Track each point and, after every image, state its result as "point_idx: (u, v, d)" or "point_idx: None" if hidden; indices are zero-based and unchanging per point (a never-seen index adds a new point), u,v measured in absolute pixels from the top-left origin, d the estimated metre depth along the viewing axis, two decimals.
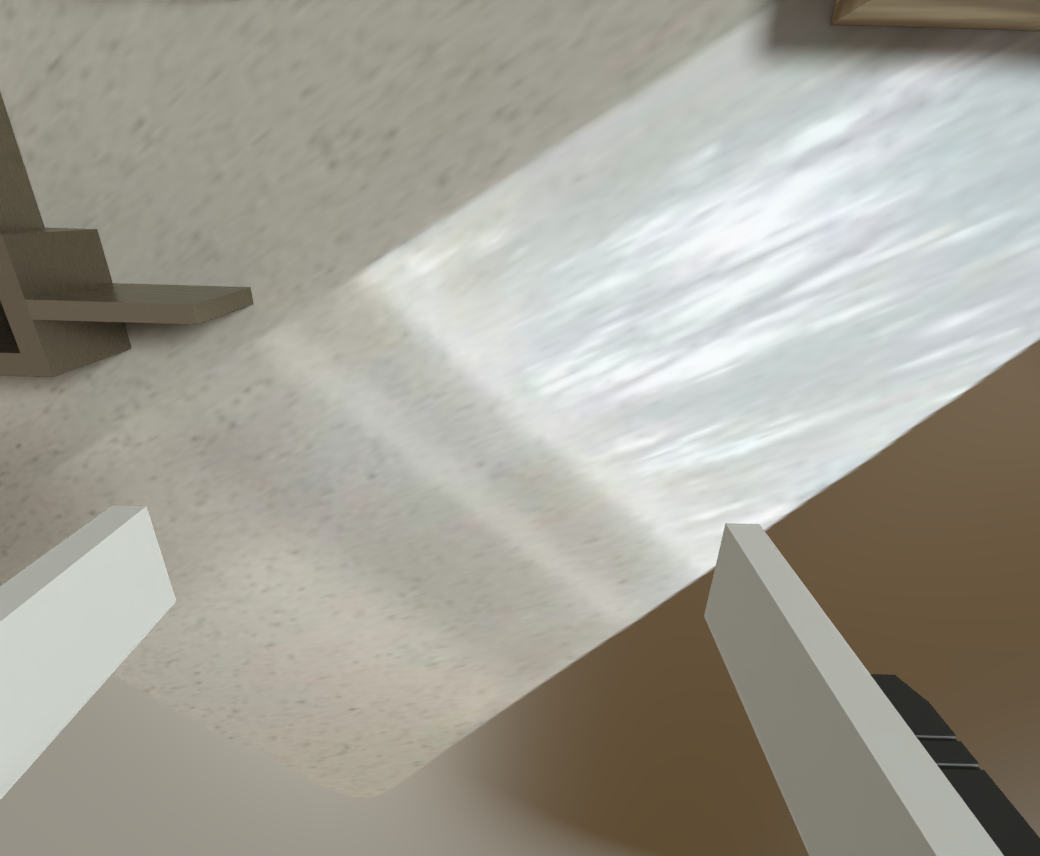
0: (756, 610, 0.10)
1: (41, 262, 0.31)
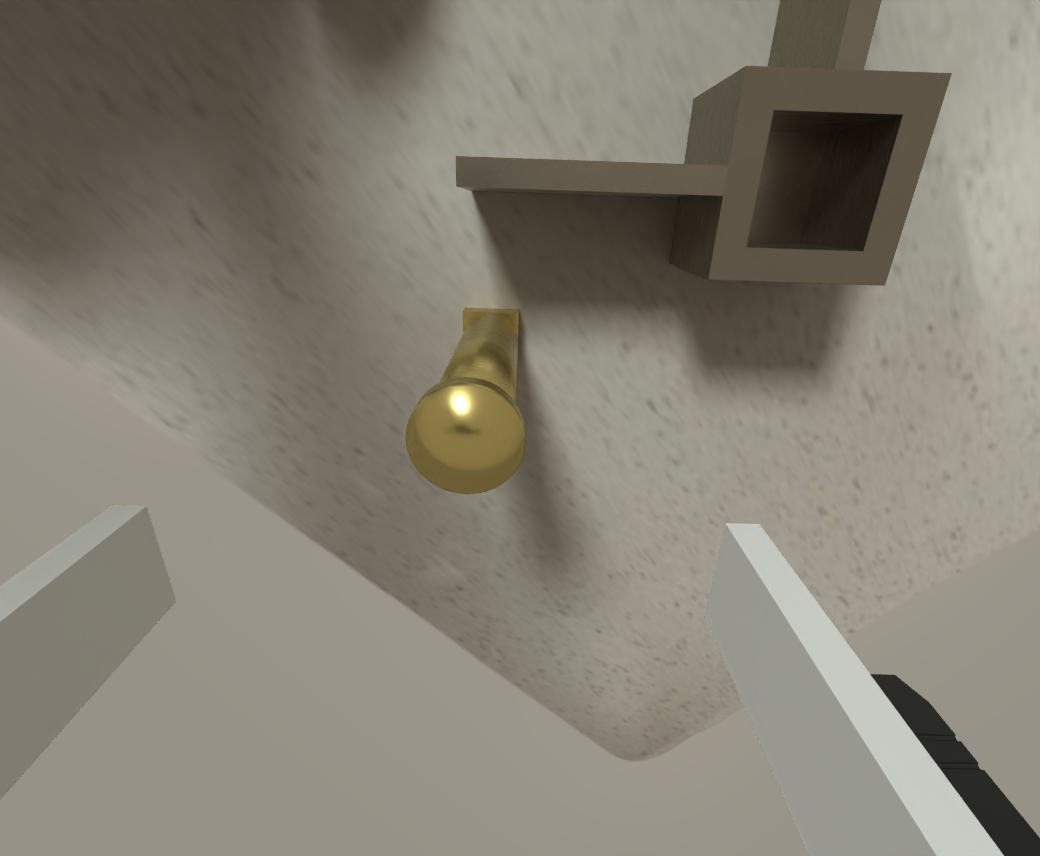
0: (756, 610, 0.10)
1: None
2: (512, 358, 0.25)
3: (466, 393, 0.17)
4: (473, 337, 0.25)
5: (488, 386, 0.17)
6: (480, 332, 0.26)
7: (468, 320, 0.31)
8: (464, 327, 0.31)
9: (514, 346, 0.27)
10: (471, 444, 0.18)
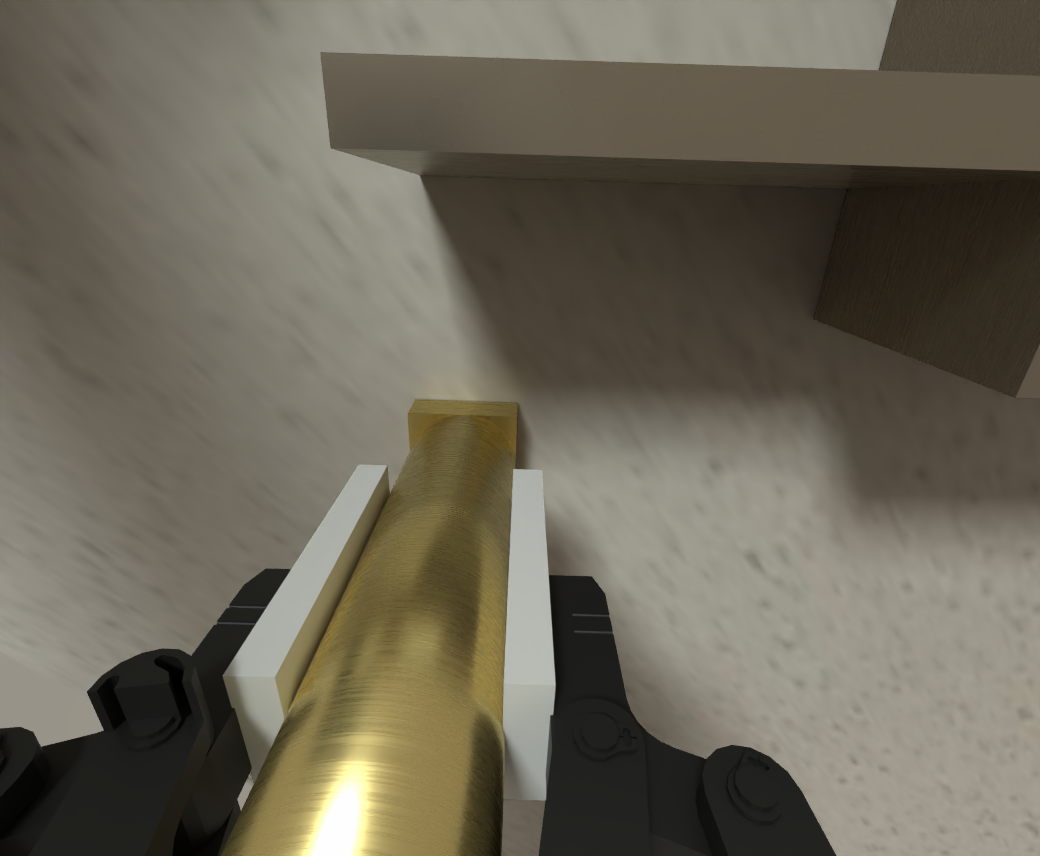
0: None
1: None
2: (499, 593, 0.10)
3: None
4: (403, 531, 0.10)
5: None
6: (425, 505, 0.11)
7: (419, 429, 0.16)
8: (411, 441, 0.16)
9: (506, 518, 0.12)
10: None
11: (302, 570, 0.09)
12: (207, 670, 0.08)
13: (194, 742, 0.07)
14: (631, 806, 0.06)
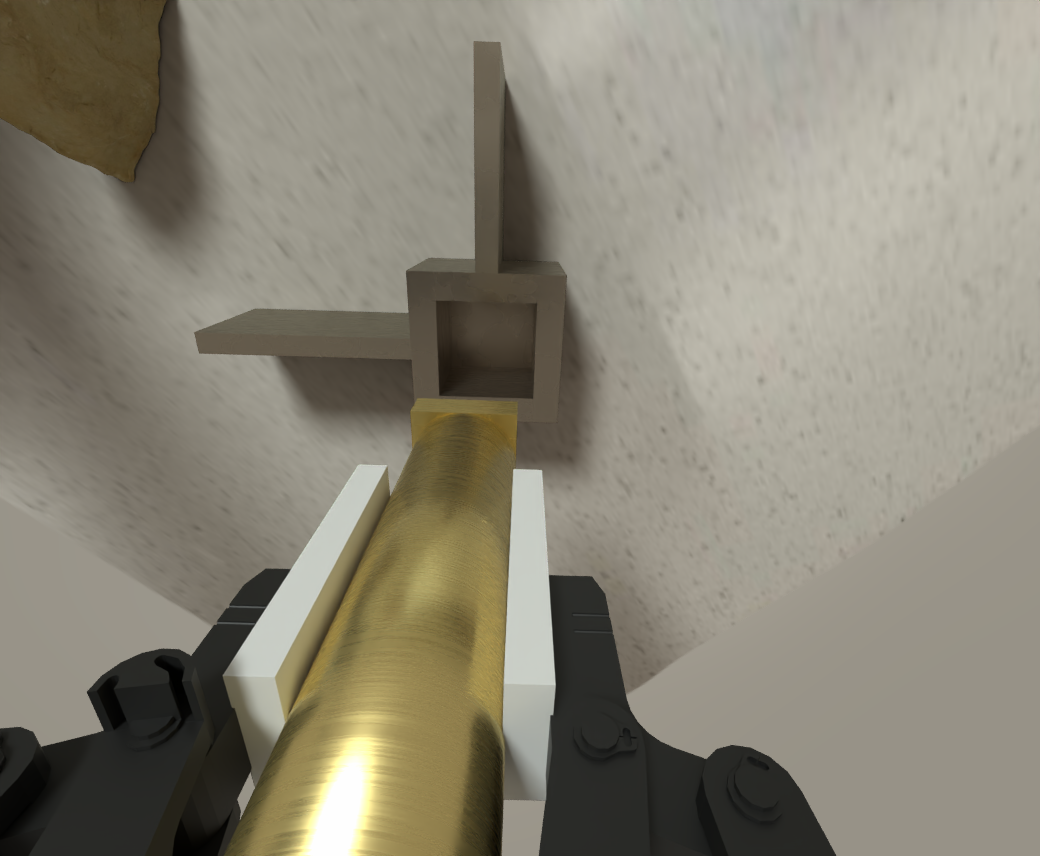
0: None
1: (443, 267, 0.28)
2: (500, 584, 0.10)
3: None
4: (407, 525, 0.10)
5: None
6: (428, 500, 0.11)
7: (421, 426, 0.16)
8: (414, 439, 0.16)
9: (507, 513, 0.13)
10: None
11: (302, 570, 0.09)
12: (208, 670, 0.08)
13: (194, 742, 0.07)
14: (631, 806, 0.06)
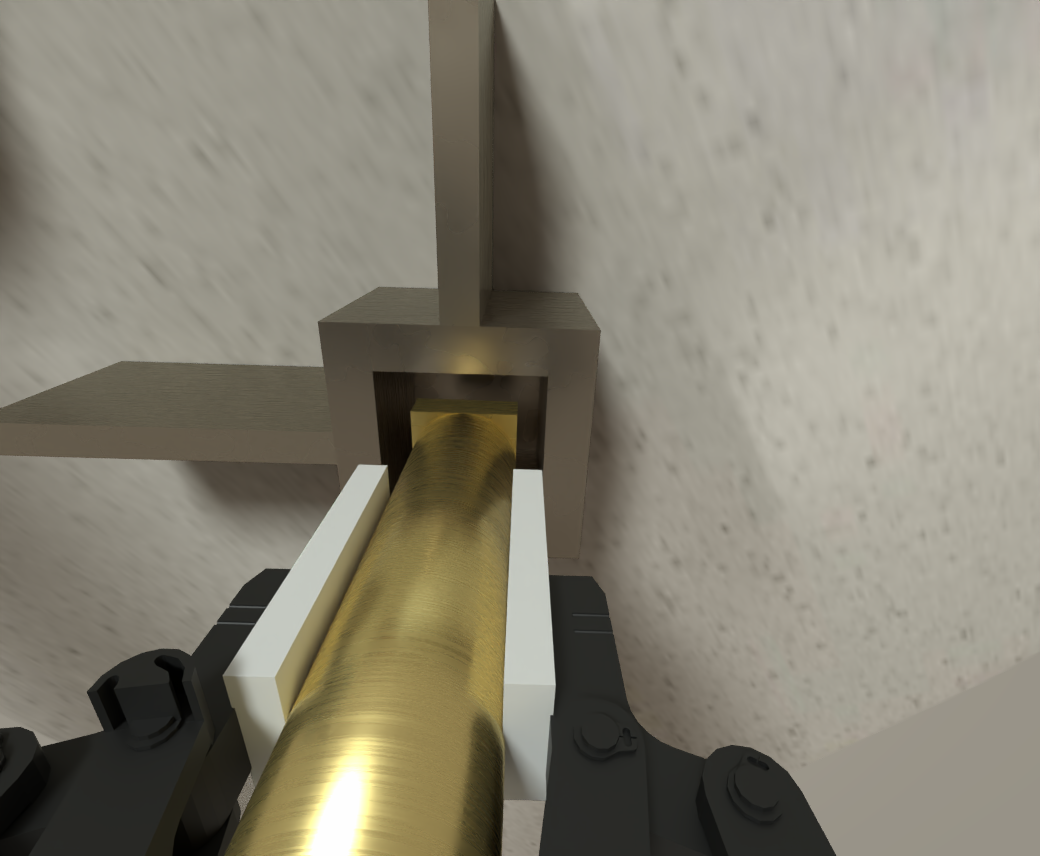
0: None
1: (390, 311, 0.17)
2: (500, 584, 0.10)
3: None
4: (407, 525, 0.10)
5: None
6: (428, 500, 0.11)
7: (421, 427, 0.16)
8: (414, 439, 0.16)
9: (507, 513, 0.13)
10: None
11: (302, 570, 0.09)
12: (208, 670, 0.08)
13: (194, 742, 0.07)
14: (631, 806, 0.06)
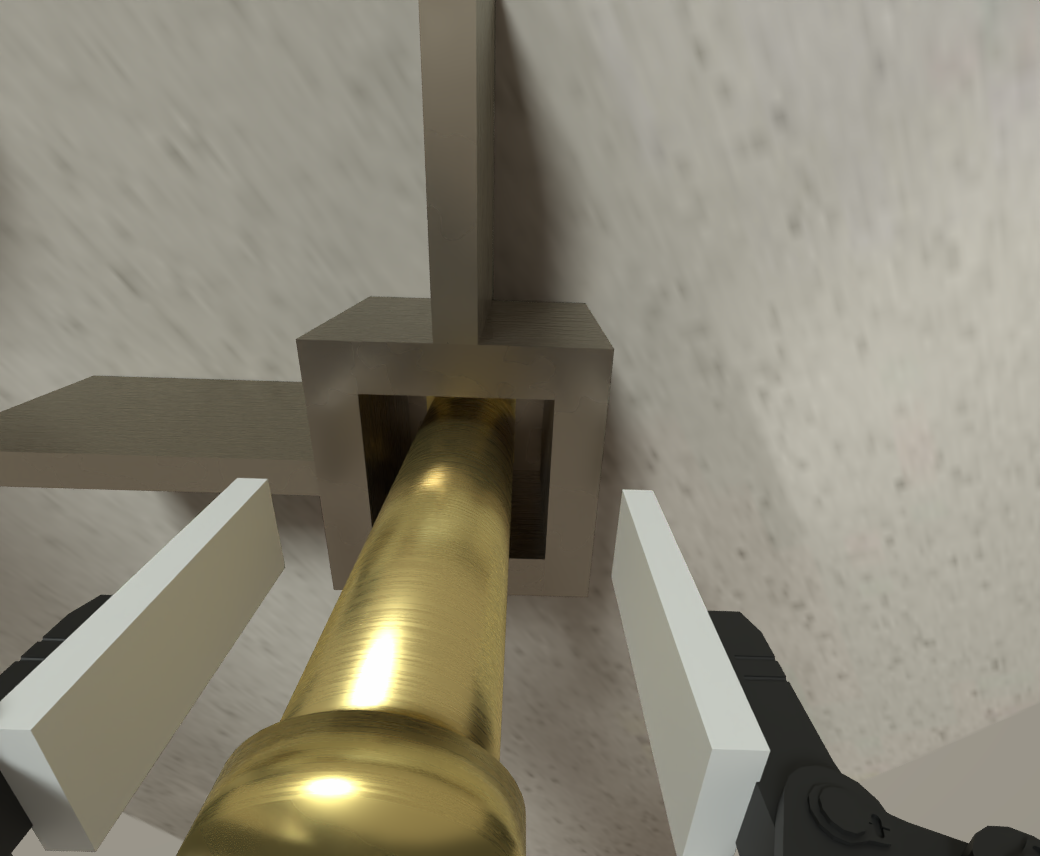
0: (635, 562, 0.11)
1: (379, 325, 0.15)
2: (502, 499, 0.13)
3: (338, 814, 0.05)
4: (429, 455, 0.13)
5: (415, 762, 0.06)
6: (444, 440, 0.14)
7: None
8: (428, 403, 0.19)
9: (507, 455, 0.15)
10: None
11: (120, 600, 0.09)
12: None
13: None
14: None
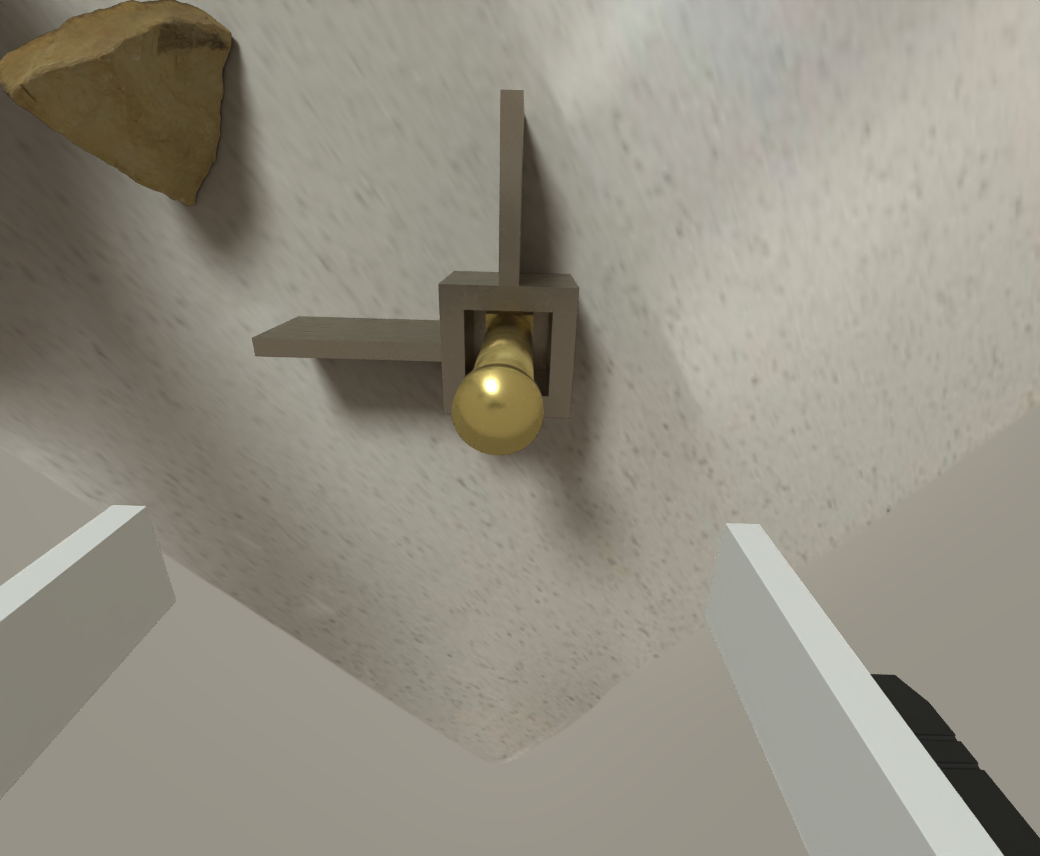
0: (757, 610, 0.10)
1: (470, 280, 0.32)
2: (530, 352, 0.30)
3: (499, 375, 0.22)
4: (497, 334, 0.30)
5: (515, 370, 0.23)
6: (503, 330, 0.31)
7: (490, 321, 0.36)
8: (486, 327, 0.36)
9: (530, 342, 0.32)
10: (502, 415, 0.23)
11: None
12: None
13: None
14: None
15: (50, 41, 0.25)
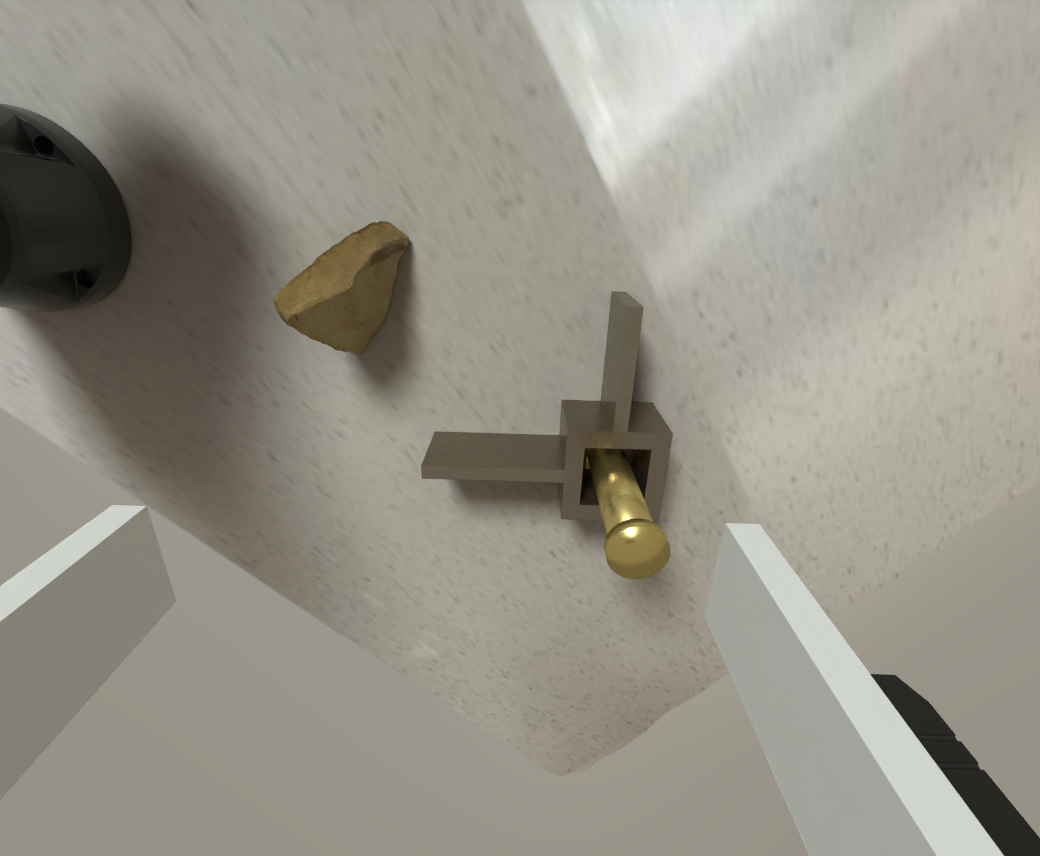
0: (757, 609, 0.10)
1: (586, 421, 0.42)
2: (637, 483, 0.40)
3: (642, 530, 0.33)
4: (612, 468, 0.41)
5: (652, 525, 0.33)
6: (613, 463, 0.41)
7: None
8: None
9: (631, 468, 0.43)
10: (641, 554, 0.33)
11: None
12: None
13: None
14: None
15: (308, 277, 0.35)
